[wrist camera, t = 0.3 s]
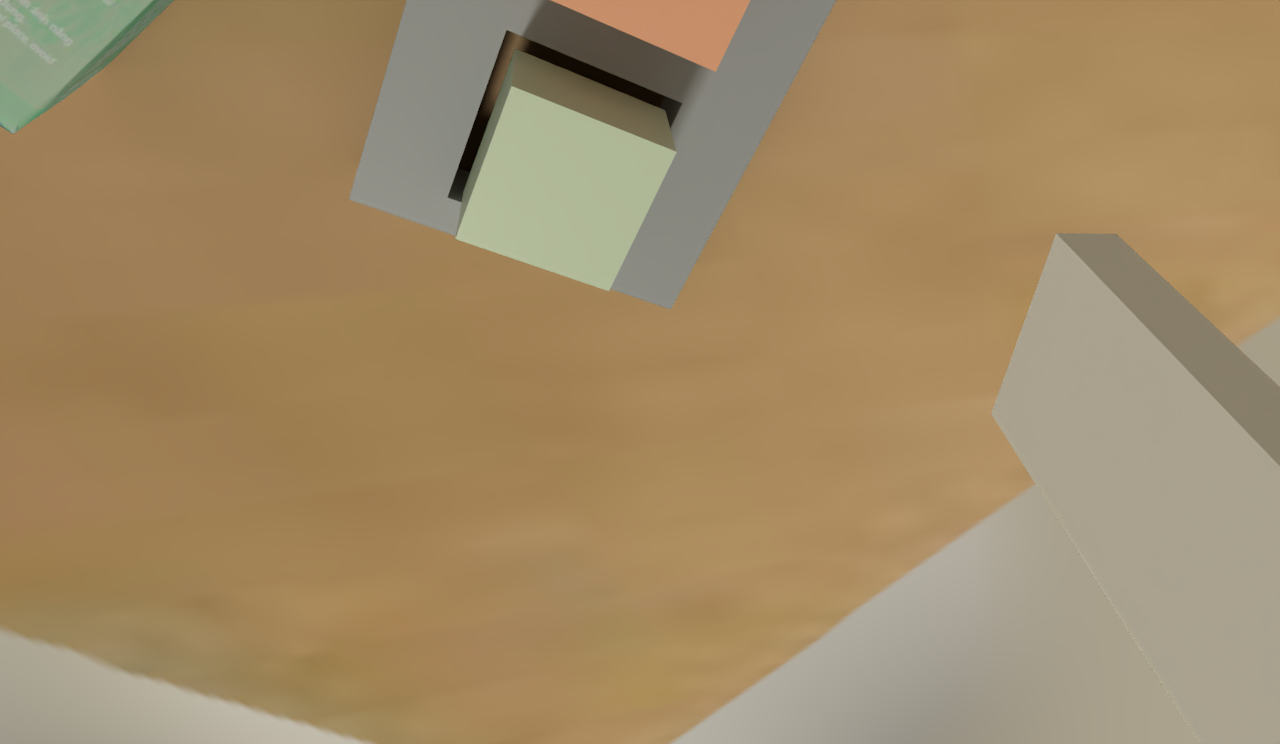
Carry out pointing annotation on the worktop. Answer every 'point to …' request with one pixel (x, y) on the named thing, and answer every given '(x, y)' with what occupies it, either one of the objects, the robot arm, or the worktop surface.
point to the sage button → (564, 172)
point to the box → (60, 48)
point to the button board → (694, 95)
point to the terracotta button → (672, 23)
